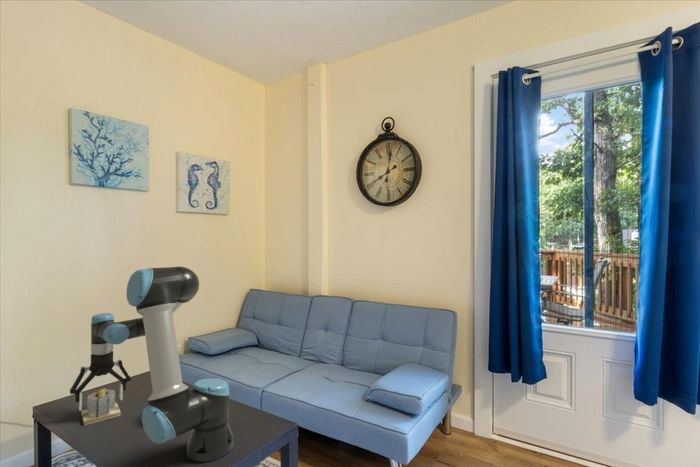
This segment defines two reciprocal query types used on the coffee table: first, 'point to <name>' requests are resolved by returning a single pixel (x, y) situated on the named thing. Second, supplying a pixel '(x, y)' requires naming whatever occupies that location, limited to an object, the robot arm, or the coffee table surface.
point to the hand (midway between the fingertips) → (101, 404)
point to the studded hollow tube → (100, 404)
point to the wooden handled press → (91, 420)
